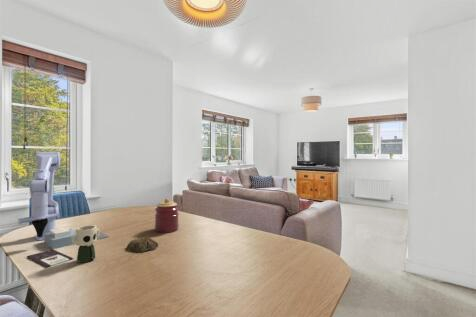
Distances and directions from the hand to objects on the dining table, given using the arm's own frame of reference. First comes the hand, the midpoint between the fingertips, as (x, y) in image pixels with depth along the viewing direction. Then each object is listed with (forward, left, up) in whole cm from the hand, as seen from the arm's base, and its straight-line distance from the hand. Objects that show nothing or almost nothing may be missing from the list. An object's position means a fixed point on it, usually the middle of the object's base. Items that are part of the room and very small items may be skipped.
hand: (39, 236), depth 112 cm
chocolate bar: (+18, 0, -6) cm, 19 cm away
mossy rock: (+35, +31, -6) cm, 47 cm away
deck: (0, +9, -5) cm, 10 cm away
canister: (+19, +54, -5) cm, 57 cm away
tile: (0, +8, -1) cm, 8 cm away
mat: (0, +21, -5) cm, 21 cm away
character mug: (+31, +9, -5) cm, 33 cm away
